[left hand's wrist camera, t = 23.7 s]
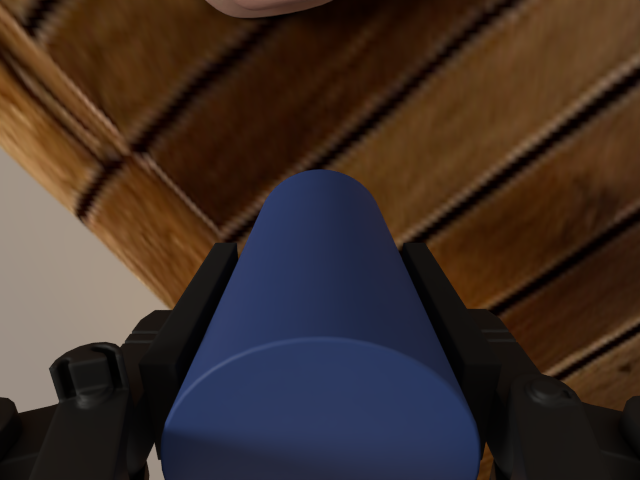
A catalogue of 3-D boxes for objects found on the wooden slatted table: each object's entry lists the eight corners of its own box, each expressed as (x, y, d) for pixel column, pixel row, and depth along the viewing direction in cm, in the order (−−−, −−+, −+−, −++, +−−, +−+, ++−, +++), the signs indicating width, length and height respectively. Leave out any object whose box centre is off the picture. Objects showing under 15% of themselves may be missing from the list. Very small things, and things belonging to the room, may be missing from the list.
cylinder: (237, 197, 19) (93, 403, 7) (357, 149, 18) (431, 288, 6) (288, 300, 21) (245, 596, 9) (398, 261, 20) (513, 531, 8)
